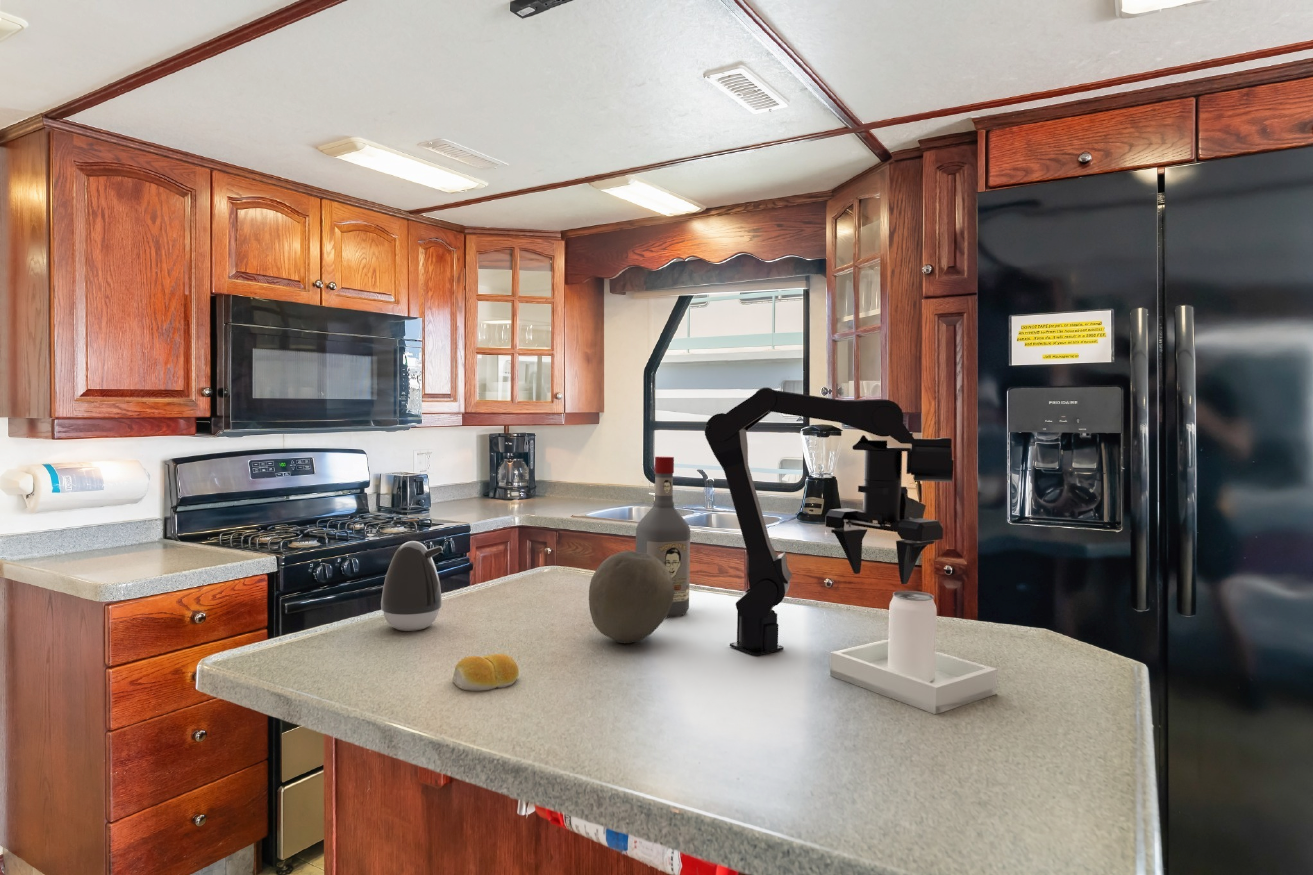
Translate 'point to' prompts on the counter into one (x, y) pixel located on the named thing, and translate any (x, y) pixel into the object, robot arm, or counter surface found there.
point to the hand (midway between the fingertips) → (879, 578)
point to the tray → (945, 692)
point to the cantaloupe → (630, 596)
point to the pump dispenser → (412, 588)
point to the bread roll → (485, 672)
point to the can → (912, 634)
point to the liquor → (667, 535)
